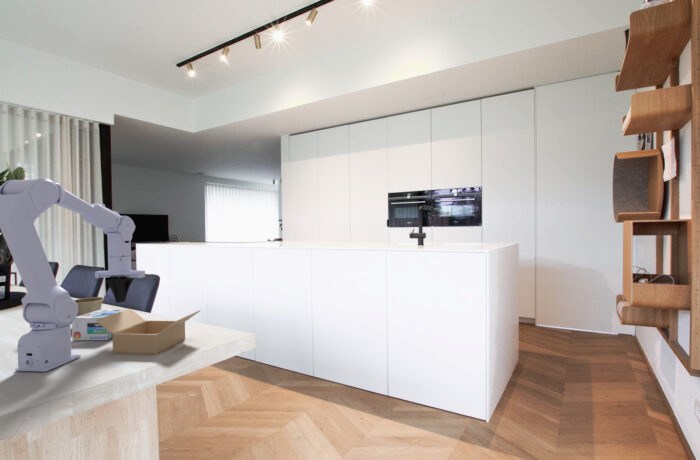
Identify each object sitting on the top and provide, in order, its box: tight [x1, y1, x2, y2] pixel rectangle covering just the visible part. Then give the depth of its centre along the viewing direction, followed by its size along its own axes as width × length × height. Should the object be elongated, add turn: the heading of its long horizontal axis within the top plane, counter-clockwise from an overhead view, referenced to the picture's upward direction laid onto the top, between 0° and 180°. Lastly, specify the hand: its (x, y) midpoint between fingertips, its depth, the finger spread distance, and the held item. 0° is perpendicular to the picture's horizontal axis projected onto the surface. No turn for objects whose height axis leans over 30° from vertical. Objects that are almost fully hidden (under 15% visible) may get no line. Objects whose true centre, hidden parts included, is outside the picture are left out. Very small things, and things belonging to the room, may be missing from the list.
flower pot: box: [73, 296, 105, 317], centre depth 119 cm, size 9×9×9 cm
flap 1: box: [96, 308, 146, 334], centre depth 98 cm, size 12×6×1 cm
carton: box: [112, 319, 186, 355], centre depth 98 cm, size 13×12×5 cm
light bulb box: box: [71, 309, 126, 341], centre depth 108 cm, size 11×7×11 cm
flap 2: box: [157, 309, 201, 335], centre depth 97 cm, size 12×6×1 cm
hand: (120, 302), depth 105 cm, fingers closed
